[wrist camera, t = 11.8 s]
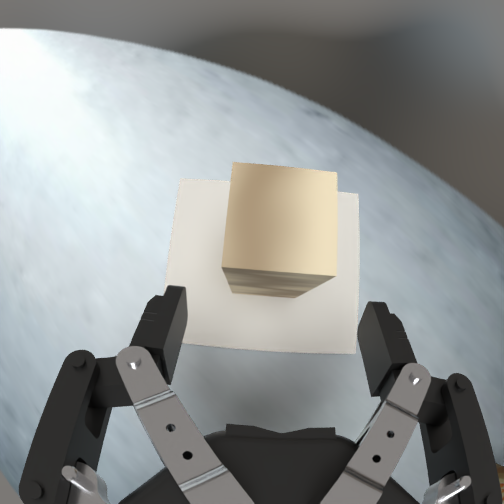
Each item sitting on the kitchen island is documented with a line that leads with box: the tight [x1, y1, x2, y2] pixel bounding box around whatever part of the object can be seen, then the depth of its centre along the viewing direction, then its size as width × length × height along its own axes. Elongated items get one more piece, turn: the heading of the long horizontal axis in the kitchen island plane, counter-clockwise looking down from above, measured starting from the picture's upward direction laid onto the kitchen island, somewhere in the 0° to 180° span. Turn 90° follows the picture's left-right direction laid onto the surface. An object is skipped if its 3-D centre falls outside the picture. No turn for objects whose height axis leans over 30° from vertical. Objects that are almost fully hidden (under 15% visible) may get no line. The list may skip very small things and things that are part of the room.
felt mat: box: [164, 178, 359, 354], centre depth 26 cm, size 16×14×1 cm
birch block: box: [221, 162, 338, 298], centre depth 20 cm, size 5×5×12 cm
